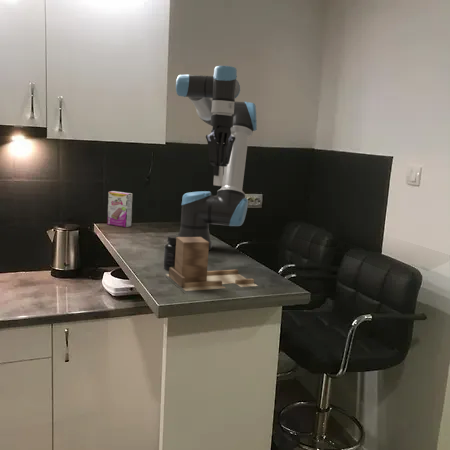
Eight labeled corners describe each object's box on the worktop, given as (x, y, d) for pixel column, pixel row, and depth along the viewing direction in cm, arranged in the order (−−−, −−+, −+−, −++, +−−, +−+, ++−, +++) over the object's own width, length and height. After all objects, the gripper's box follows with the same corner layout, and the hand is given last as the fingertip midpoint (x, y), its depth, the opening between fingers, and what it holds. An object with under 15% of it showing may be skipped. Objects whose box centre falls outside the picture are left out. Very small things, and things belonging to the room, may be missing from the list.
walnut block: (198, 276, 160) (200, 236, 158) (206, 283, 153) (209, 242, 150) (174, 277, 157) (176, 237, 155) (181, 284, 150) (183, 242, 148)
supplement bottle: (163, 268, 171) (165, 233, 169) (183, 269, 172) (185, 235, 170) (162, 273, 164) (164, 237, 162) (183, 274, 165) (185, 239, 163)
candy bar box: (106, 224, 243) (107, 191, 241) (112, 223, 248) (113, 190, 245) (126, 227, 239) (127, 193, 237) (131, 226, 244) (133, 193, 241)
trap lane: (232, 273, 170) (233, 262, 170) (257, 288, 154) (258, 276, 154) (165, 277, 160) (166, 265, 160) (185, 294, 144) (186, 280, 144)
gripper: (218, 113, 158) (213, 187, 162) (243, 116, 168) (238, 186, 172) (200, 112, 163) (196, 184, 167) (226, 116, 173) (221, 183, 177)
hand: (217, 185), depth 169 cm, fingers closed
